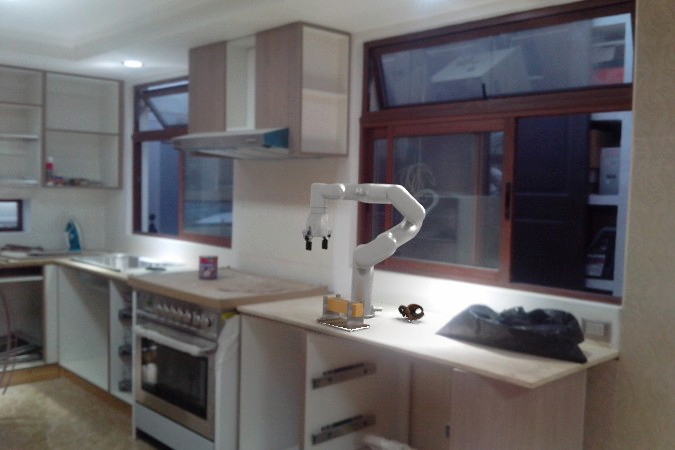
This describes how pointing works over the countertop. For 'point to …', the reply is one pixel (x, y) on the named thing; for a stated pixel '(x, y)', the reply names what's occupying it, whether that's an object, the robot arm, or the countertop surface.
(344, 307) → the orange rectangular bar
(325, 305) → the cradle
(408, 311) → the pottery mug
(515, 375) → the countertop surface
